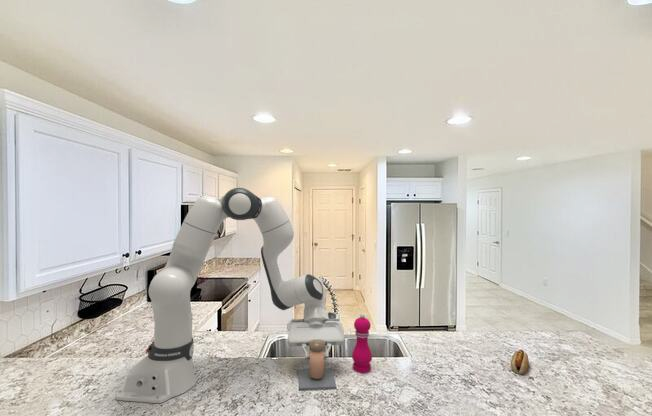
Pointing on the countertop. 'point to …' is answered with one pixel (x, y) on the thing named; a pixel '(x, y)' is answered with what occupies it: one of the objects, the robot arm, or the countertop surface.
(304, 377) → the pad
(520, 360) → the food
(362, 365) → the pepper mill
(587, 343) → the countertop surface
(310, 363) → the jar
